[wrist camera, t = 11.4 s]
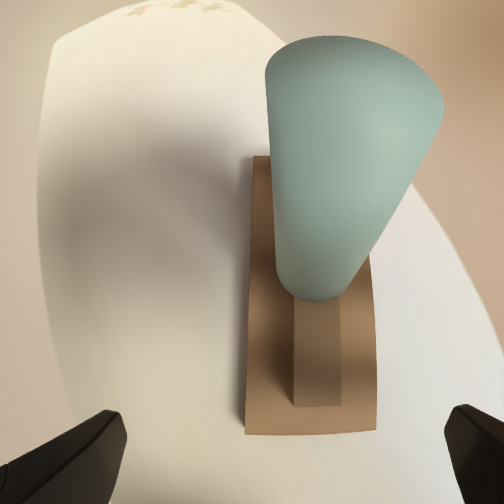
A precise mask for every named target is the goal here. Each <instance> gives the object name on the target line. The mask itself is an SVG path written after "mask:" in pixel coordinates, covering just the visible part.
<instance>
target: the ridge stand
mask: <svg viewBox="0 0 504 504" xmlns="http://www.w3.org/2000/svg"><path fill="white" fill-rule="evenodd" d="M376 414H377V362H376V334H375V316H374V302H373V290H372V279H371V269H370V259H369V255H368V256H367V258H366V259H365V261H364V263H363V264H362V266H361V267H360V269H359V270H358V272H357V273H356V275H355V276H354V278H353V280H352V281H351V283H350V284H349V286H348V287H347V288H346V290H345V291H344V292H343V293H342V294H340V295H339V296H338V297H336V298H334V299H332V300H329V301H326V302H319V303H312V302H307V301H303V300H301V299H298V298H296V297H295V296H293V295H292V294H290V293H289V292H288V291H287V290H286V289H285V288H284V286H283V285H282V283H281V282H280V280H279V277H278V274H277V270H276V252H275V230H274V210H273V191H272V174H271V157H270V156H254V161H253V191H252V220H251V250H250V280H249V311H248V342H247V373H246V404H245V434H246V435H320V434H338V433H350V432H361V431H370V430H376Z"/></svg>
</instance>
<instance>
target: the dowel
mask: <svg viewBox="0 0 504 504" xmlns="http://www.w3.org/2000/svg"><path fill="white" fill-rule="evenodd" d="M265 83H266V96H267V111H268V125H269V141H270V157H271V174H272V191H273V210H274V230H275V252H276V270H277V274H278V277H279V280H280V282H281V283H282V285H283V286H284V288H285V289H286V290H287V291H288V292H289V293H290V294H292V295H293V296H295V297H296V298H298V299H301V300H303V301H307V302H312V303H319V302H326V301H329V300H332V299H334V298H336V297H338V296H339V295H340V294H342V293H343V292H344V291H345V290H346V288H347V287H348V286H349V284H350V283H351V281H352V280H353V278H354V276H355V275H356V273H357V272H358V270H359V269H360V267H361V266H362V264H363V263H364V261H365V259H366V258H367V256H368V255H369V253H370V251H371V250H372V248H373V247H374V245H375V243H376V242H377V240H378V238H379V237H380V235H381V234H382V232H383V230H384V229H385V227H386V225H387V223H388V222H389V220H390V218H391V217H392V215H393V213H394V211H395V210H396V208H397V206H398V205H399V203H400V201H401V199H402V197H403V196H404V194H405V192H406V190H407V188H408V187H409V185H410V183H411V181H412V179H413V177H414V176H415V174H416V172H417V170H418V168H419V166H420V164H421V162H422V160H423V158H424V156H425V155H426V153H427V151H428V148H429V147H430V145H431V142H432V140H433V139H434V136H435V134H436V132H437V130H438V128H439V126H440V124H441V122H442V119H443V116H444V101H443V98H442V95H441V93H440V90H439V89H438V87H437V85H436V84H435V83H434V81H433V80H432V78H431V77H430V76H429V75H428V74H427V73H426V72H425V71H424V70H423V69H422V68H421V67H420V66H418V65H417V64H416V63H415V62H413V61H412V60H410V59H409V58H407V57H406V56H404V55H402V54H400V53H399V52H397V51H395V50H393V49H390V48H388V47H386V46H383V45H380V44H378V43H375V42H371V41H368V40H364V39H359V38H354V37H346V36H317V37H311V38H306V39H302V40H298V41H295V42H293V43H291V44H288V45H286V46H284V47H283V48H281V49H280V50H278V51H277V52H276V53H275V54H274V55H273V56H272V57H271V59H270V60H269V62H268V64H267V66H266V70H265Z"/></svg>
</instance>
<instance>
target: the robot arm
mask: <svg viewBox="0 0 504 504" xmlns="http://www.w3.org/2000/svg"><path fill="white" fill-rule="evenodd" d="M444 435H445V439H446V442H447V446H448V450H449V454H450V458H451V462H452V466H453V470H454V473H455V477H456V480H457V483H458V485H459V488H460V491H461V494H462V497H463V500H464V503H465V504H504V422H502V421H500V420H498V419H496V418H494V417H492V416H490V415H488V414H486V413H484V412H482V411H480V410H478V409H476V408H474V407H472V406H471V405H469V404H462V405H458V406H455V407H454V408H453V410H452V412H451V414H450V416H449V419H448V421H447V423H446V425H445V428H444ZM126 442H127V432H126V429H125V426H124V423H123V420H122V417H121V415H120V413H119V412H116V411H111V410H103V411H101V412H100V413H98V414H96V415H95V416H93V417H91V418H90V419H88V420H86V421H84V422H83V423H81V424H79V425H77V426H76V427H74V428H72V429H70V430H69V431H67V432H65V433H64V434H61V435H60V436H58V437H56V438H54V439H53V440H51V441H49V442H47V443H45V444H43V445H41V446H40V447H38V448H36V449H34V450H32V451H30V452H28V453H26V454H24V455H22V456H21V457H19V458H17V459H15V460H13V461H11V462H9V463H8V464H5V465H3V466H1V467H0V504H108V503H109V500H110V498H111V495H112V493H113V490H114V487H115V484H116V481H117V477H118V473H119V469H120V465H121V461H122V457H123V453H124V449H125V446H126Z"/></svg>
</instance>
